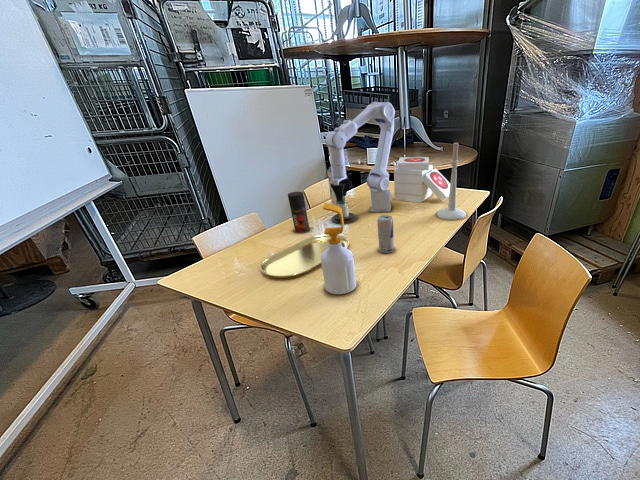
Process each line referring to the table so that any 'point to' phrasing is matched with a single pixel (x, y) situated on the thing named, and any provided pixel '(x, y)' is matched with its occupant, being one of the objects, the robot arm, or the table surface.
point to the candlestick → (452, 193)
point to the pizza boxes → (418, 180)
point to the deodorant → (298, 212)
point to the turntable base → (345, 220)
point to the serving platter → (298, 257)
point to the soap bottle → (337, 260)
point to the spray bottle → (344, 211)
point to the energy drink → (385, 234)
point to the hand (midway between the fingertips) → (341, 198)
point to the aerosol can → (333, 197)
